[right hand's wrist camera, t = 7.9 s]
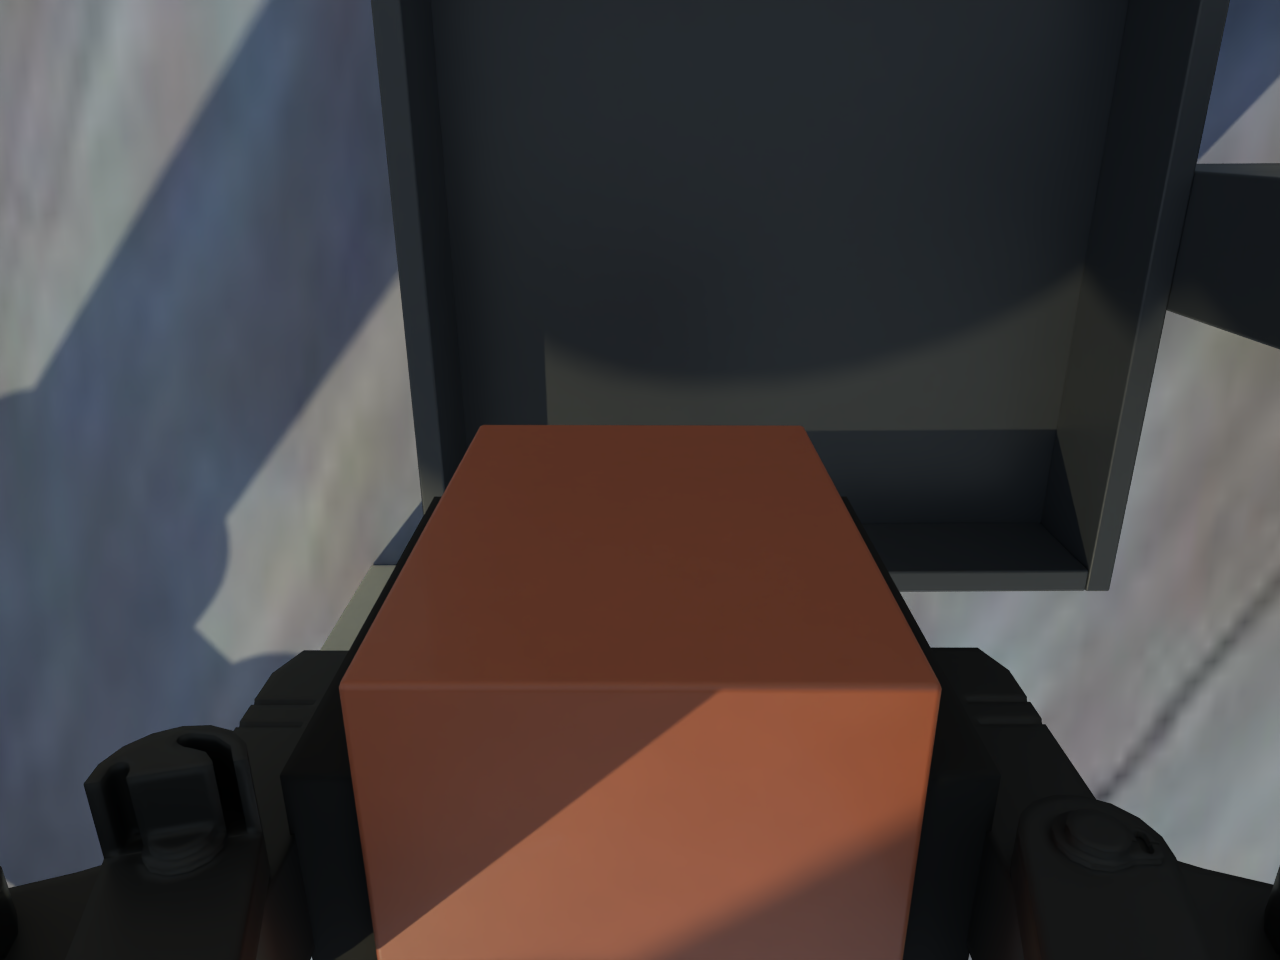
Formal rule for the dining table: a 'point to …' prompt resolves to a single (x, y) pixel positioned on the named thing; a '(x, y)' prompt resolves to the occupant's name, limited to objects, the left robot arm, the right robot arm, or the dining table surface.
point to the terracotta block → (640, 709)
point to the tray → (827, 243)
